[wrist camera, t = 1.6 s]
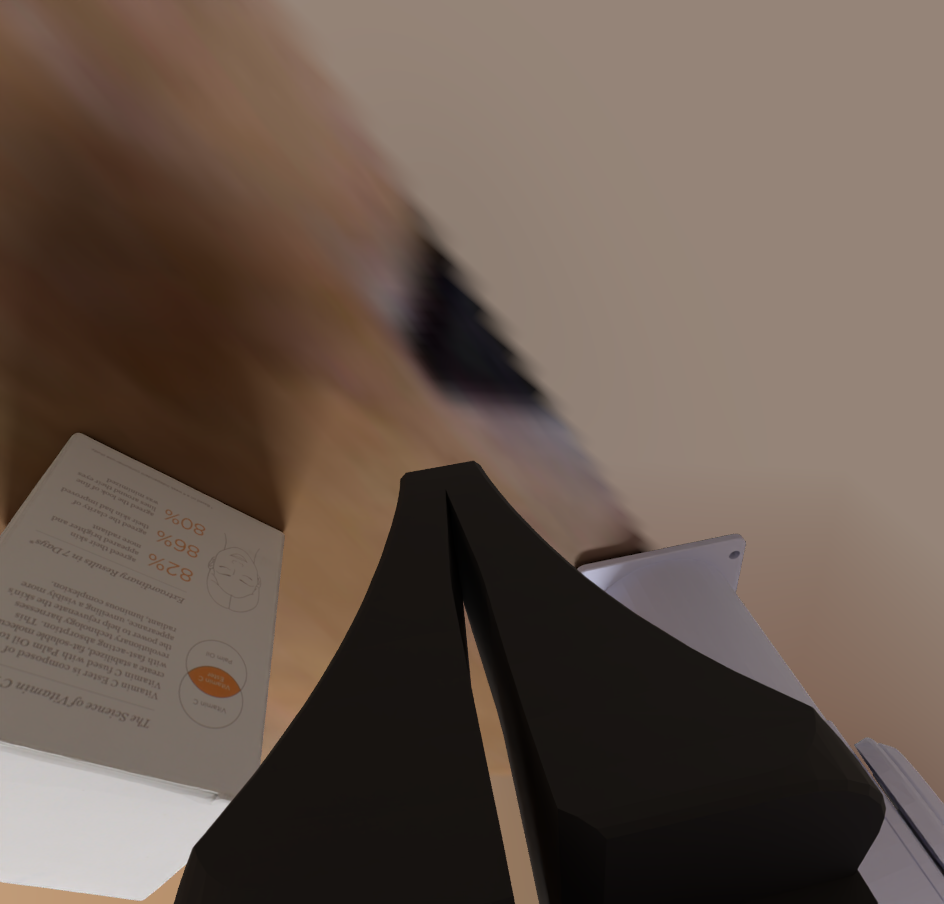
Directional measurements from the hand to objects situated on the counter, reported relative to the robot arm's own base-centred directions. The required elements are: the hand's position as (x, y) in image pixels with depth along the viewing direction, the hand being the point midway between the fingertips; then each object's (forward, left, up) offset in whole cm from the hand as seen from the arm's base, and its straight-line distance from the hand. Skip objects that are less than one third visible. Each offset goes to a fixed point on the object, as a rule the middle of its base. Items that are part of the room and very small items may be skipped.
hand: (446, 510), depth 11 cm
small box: (-7, +11, -11) cm, 16 cm away
